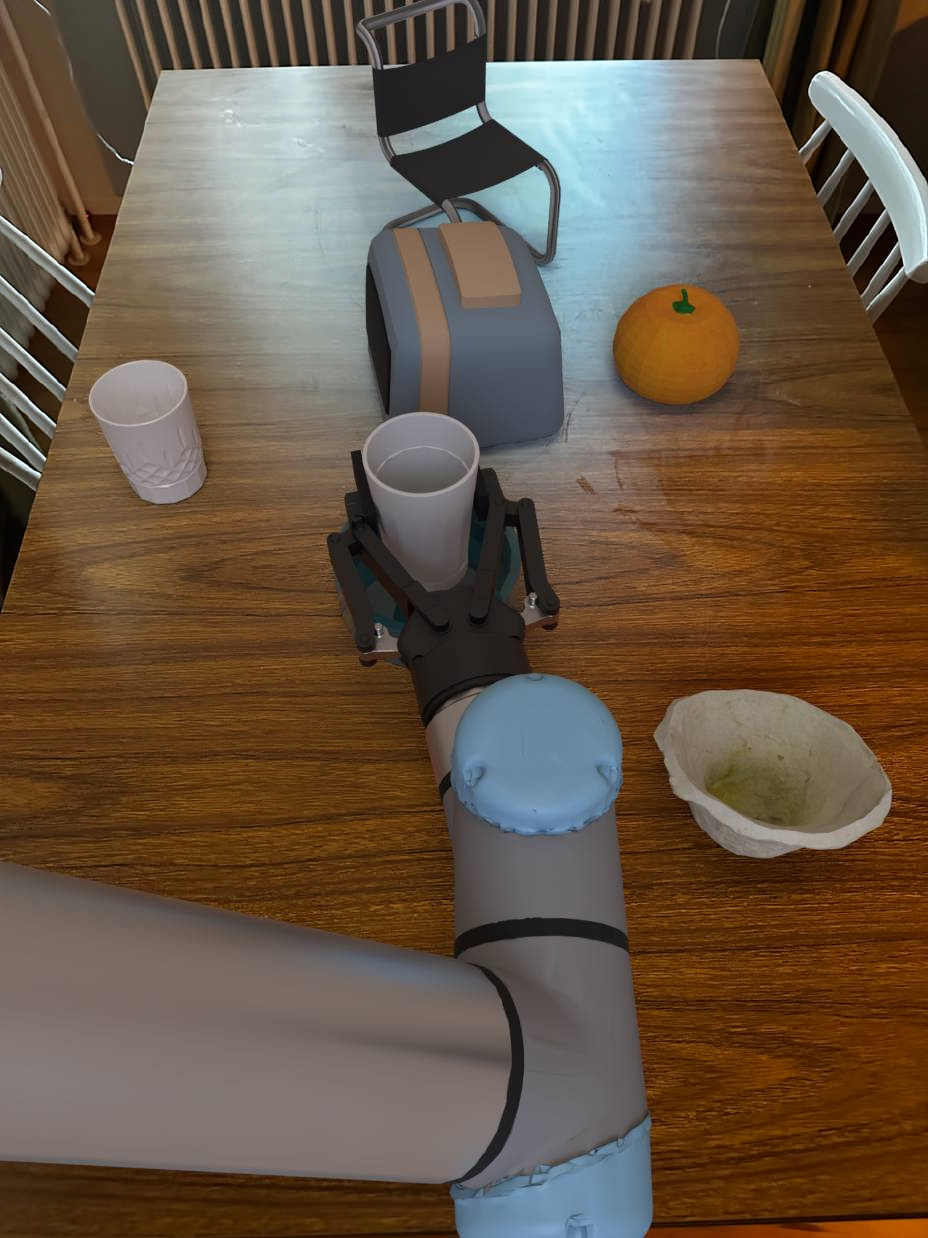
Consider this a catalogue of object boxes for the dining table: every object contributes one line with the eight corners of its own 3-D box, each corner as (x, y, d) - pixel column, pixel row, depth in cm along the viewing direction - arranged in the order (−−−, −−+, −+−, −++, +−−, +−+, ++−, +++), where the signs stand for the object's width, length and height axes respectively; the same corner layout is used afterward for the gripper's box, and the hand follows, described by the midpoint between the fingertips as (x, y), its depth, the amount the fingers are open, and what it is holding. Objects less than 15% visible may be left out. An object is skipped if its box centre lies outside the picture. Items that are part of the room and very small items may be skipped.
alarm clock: (366, 353, 95) (350, 205, 82) (525, 331, 97) (534, 183, 84) (393, 471, 86) (379, 326, 73) (568, 444, 88) (586, 297, 74)
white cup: (108, 475, 86) (70, 390, 77) (182, 432, 89) (153, 346, 80) (156, 524, 82) (121, 440, 74) (231, 478, 85) (206, 393, 77)
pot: (355, 685, 73) (348, 650, 69) (327, 541, 81) (320, 502, 77) (539, 649, 75) (542, 612, 71) (493, 511, 83) (495, 471, 79)
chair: (464, 196, 110) (463, -16, 92) (557, 272, 102) (576, 55, 84) (368, 235, 106) (348, 20, 88) (457, 317, 98) (455, 99, 80)
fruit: (628, 429, 89) (644, 342, 80) (593, 347, 95) (604, 259, 87) (748, 410, 90) (775, 323, 82) (704, 331, 96) (726, 243, 88)
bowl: (852, 735, 70) (903, 664, 62) (853, 921, 63) (911, 867, 54) (650, 696, 72) (673, 622, 64) (626, 872, 65) (649, 812, 56)
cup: (409, 619, 71) (399, 514, 62) (358, 549, 75) (341, 439, 65) (498, 574, 74) (502, 465, 64) (444, 508, 78) (440, 396, 68)
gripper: (327, 775, 61) (284, 511, 73) (630, 711, 63) (538, 466, 76) (310, 719, 54) (266, 440, 67) (647, 650, 57) (543, 394, 70)
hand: (410, 454), depth 72 cm, fingers closed on cup, 7 cm apart
